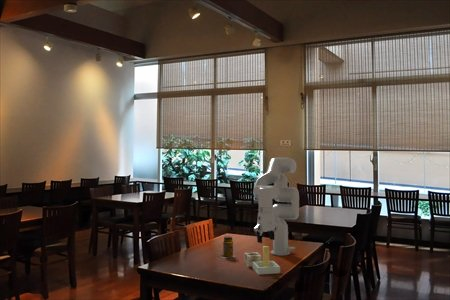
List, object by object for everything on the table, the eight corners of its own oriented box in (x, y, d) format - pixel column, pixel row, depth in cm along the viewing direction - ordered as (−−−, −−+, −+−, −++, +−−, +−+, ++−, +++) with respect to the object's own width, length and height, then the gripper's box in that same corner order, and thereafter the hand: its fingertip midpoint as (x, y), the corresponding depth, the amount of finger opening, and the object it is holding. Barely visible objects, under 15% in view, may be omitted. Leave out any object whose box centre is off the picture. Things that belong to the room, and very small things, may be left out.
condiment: (235, 256, 247) (235, 237, 247) (224, 258, 242) (224, 239, 242) (229, 254, 253) (229, 235, 253) (218, 256, 248) (217, 237, 248)
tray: (273, 267, 223) (273, 260, 223) (280, 273, 211) (279, 266, 211) (252, 268, 220) (252, 261, 221) (258, 274, 209) (258, 267, 209)
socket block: (257, 262, 232) (257, 252, 233) (261, 266, 225) (261, 255, 225) (244, 263, 231) (244, 252, 231) (247, 267, 223) (247, 256, 223)
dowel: (270, 268, 216) (270, 246, 216) (266, 270, 213) (266, 247, 213) (265, 267, 218) (266, 245, 219) (261, 268, 216) (261, 246, 216)
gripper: (259, 212, 208) (259, 245, 208) (281, 208, 219) (281, 239, 219) (249, 211, 214) (249, 242, 214) (271, 207, 225) (271, 237, 225)
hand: (266, 241), depth 217 cm, fingers open, 9 cm apart
